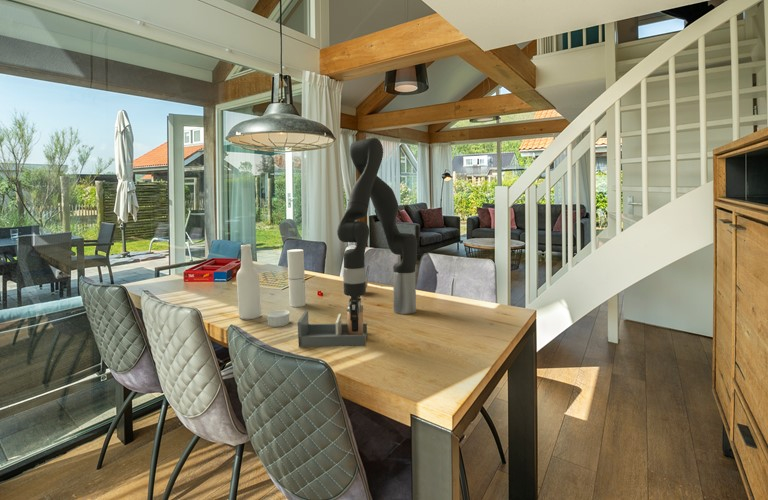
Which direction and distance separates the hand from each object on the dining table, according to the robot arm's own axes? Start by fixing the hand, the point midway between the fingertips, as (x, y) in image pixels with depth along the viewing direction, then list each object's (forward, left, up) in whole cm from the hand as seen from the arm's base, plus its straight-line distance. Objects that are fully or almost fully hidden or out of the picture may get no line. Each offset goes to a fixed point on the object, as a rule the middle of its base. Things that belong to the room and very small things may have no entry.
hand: (355, 328), depth 137 cm
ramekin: (+32, -18, -4) cm, 36 cm away
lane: (+8, 0, -4) cm, 8 cm away
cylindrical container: (+30, -44, -4) cm, 53 cm away
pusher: (+6, 0, -3) cm, 7 cm away
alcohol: (+46, -27, -4) cm, 53 cm away
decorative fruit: (+3, -63, -4) cm, 63 cm away
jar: (0, 0, -3) cm, 3 cm away
